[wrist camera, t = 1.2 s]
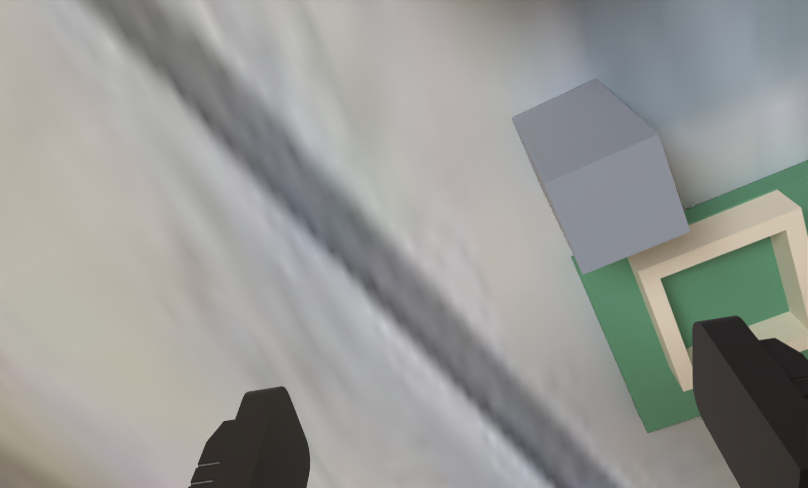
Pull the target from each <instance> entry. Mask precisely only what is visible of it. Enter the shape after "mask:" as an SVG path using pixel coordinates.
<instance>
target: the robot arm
mask: <svg viewBox="0 0 808 488" xmlns="http://www.w3.org/2000/svg"><path fill="white" fill-rule="evenodd" d="M692 377H693V392H694V397H695V401H696V405H697V408H698V410H699V413H700V415H701V417H702V419H703V421H704V423H705V425H706V426H707V428H708V430H709V432H710V434H711V435H712V437H713V439H714V441H715V443H716V444H717V446H718V448H719V450H720V452H721V453H722V455H723V457H724V459H725V461H726V462H727V464H728V466H729V468H730V470H731V471H732V473H733V475H734V477H735V478H736V480H737V482H738V484H739V486H740V487H741V488H808V360H807V358H806V357H805V356H804V355H803V354H802V353H800V352H799V351H797V350H795V349H794V348H792V347H790V346H788V345H787V344H785V343H783V342H782V341H780V340H778V339H776V338H770V339H763V340H758V338H757V337H756V336H755V335H754V333H753V332H752V331H751V330H750V328H749V327H748V326H747V325H746V323H745V322H744V321H743V320H742V319H741V318H740V317H739V316H737V315H735V316H729V317H722V318H716V319H710V320H703V321H697V322H695V323H694V324H693V328H692ZM309 471H310V454H309V447H308V443H307V440H306V437H305V434H304V432H303V429H302V427H301V424H300V422H299V419H298V416H297V414H296V411H295V409H294V406H293V404H292V401H291V398H290V396H289V394H288V391H287V390H286V389H285V388H284V387H282V386H281V387H275V388H269V389H262V390H256V391H250V392H247V393H245V395H244V397H243V399H242V402H241V405H240V408H239V410H238V413H237V416H236V419H235V420H229V421H224V422H223V423H222V424H221V425H220V427H219V428H218V429H217V430H216V431H215V432H214V434H213V435H212V436H211V437H210V438H209V440H208V441H207V442H206V445H205V447H204V450H203V452H202V455H201V457H200V460H199V462H198V468H196V470H195V472H194V475H193V477H192V480H191V486H190V487H188V488H306V487H307V482H308V477H309Z"/></svg>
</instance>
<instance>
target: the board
mask: <svg viewBox="0 0 808 488" xmlns="http://www.w3.org/2000/svg"><path fill="white" fill-rule="evenodd" d="M684 213H685V216H686V219H687V223H688V226H689V229H690V232H689V233H686V234H684V235H681V236H679V237H676V238H674V239H671V240H669V241H666V242H664V243H661V244H659V245H656V246H654V247H651V248H649V249H646V250H644V251H641V252H639V253H636V254H634V255H631V256H628V257H626V258H623V259H621V260H618V261H616V262H613V263H611V264H608V265H606V266H603V267H601V268H598V269H596V270H593V271H591V272H588V273H586V274H582V272H581V270H580V268H579V266H578V264H577V262H576V259H575V257H574V256H572V260H573V262H574V264H575V267H576V269H577V271H578V274H579V276H580V278H581V281H582V283H583V285H584V288H585V290H586V292H587V295H588V297H589V299H590V302H591V304H592V306H593V309H594V311H595V313H596V316H597V318H598V320H599V323H600V325H601V327H602V330H603V332H604V334H605V336H606V339H607V341H608V343H609V346H610V348H611V350H612V353H613V355H614V357H615V360H616V362H617V364H618V367H619V369H620V371H621V374H622V376H623V378H624V381H625V383H626V385H627V388H628V390H629V392H630V395H631V397H632V399H633V402H634V404H635V406H636V409H637V411H638V413H639V416H640V418H641V420H642V422H643V425H644V427H645V429H646V431H647V433H650V432H653V431H656V430H659V429H662V428H665V427H668V426H671V425H674V424H677V423H680V422H683V421H686V420H689V419H692V418H695V417H698V416H701V415H700V413H699V410H698V408H697V405H696V401H695V397H694V392H693V377H692V328H693V324H694V323H695V322H697V321H703V320H710V319H716V318H722V317H729V316H735V315H737V316H739V317H740V318H741V319H742V320H743V321H744V322H745V323H746V325H747V326H748V327H749V328H750V330H751V331H752V332H753V333H754V335H755V336H756V337H757V338H758V340H763V339H770V338H776V339H778V340H780V341H782V342H783V343H785V344H787V345H788V346H790V347H792V348H794V349H795V350H797V351H799V352H800V353H802V354H803V355H804V356H805V357H806V358H807V360H808V160H807V161H805V162H802V163H800V164H797V165H795V166H793V167H790V168H788V169H785V170H783V171H780V172H778V173H775V174H773V175H770V176H768V177H766V178H763V179H761V180H758V181H756V182H753V183H751V184H748V185H746V186H743V187H741V188H739V189H736V190H734V191H731V192H729V193H726V194H724V195H721V196H719V197H716V198H714V199H712V200H709V201H707V202H704V203H702V204H699V205H697V206H694V207H692V208H689V209H687V210H685V211H684Z"/></svg>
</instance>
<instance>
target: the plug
mask: <svg viewBox="0 0 808 488" xmlns="http://www.w3.org/2000/svg"><path fill="white" fill-rule="evenodd" d="M512 120H513V122H514V125H515V127H516V129H517V132H518V134H519V136H520V139H521V141H522V143H523V146H524V148H525V150H526V153H527V155H528V157H529V160H530V162H531V164H532V167H533V169H534V171H535V174H536V176H537V178H538V181H539V183H540V185H541V188H542V190H543V192H544V194H545V196H546V198H547V201H548V203H549V205H550V207H551V209H552V211H553V213H554V215H555V217H556V219H557V222H558V224H559V226H560V228H561V230H562V232H563V234H564V236H565V238H566V240H567V243H568V245H569V247H570V249H571V251H572V253H573V255H574V257H575V259H576V262H577V264H578V266H579V268H580V270H581V272H582V274H586V273H588V272H591V271H593V270H596V269H598V268H601V267H603V266H606V265H608V264H611V263H613V262H616V261H618V260H621V259H623V258H626V257H628V256H631V255H634V254H636V253H639V252H641V251H644V250H646V249H649V248H651V247H654V246H656V245H659V244H661V243H664V242H666V241H669V240H671V239H674V238H676V237H679V236H681V235H684V234H686V233H689V232H690V229H689V226H688V223H687V219H686V216H685V213H684V210H683V207H682V204H681V201H680V198H679V195H678V192H677V189H676V186H675V183H674V180H673V176H672V173H671V170H670V167H669V164H668V161H667V158H666V155H665V152H664V149H663V146H662V143H661V140H660V137H659V134H658V133H657V132H656V131H655V130H654V129H652V128H651V127H650V126H649V125H648V124H647V123H646V122H645V121H643V120H642V119H641V118H640V117H639V116H638V115H637V114H635V113H634V112H633V111H632V110H631V109H630V108H629V107H628V106H626V105H625V104H624V103H623V102H622V101H621V100H620V99H618V98H617V97H616V96H615V95H614V94H613V93H612V92H611V91H609V90H608V89H607V88H606V87H605V86H604V85H603V84H601V83H600V82H599V81H598V80H597V79H594V80H592V81H590V82H588V83H586V84H583V85H581V86H579V87H577V88H575V89H573V90H571V91H568V92H566V93H564V94H562V95H560V96H558V97H556V98H553V99H551V100H549V101H547V102H545V103H543V104H541V105H538V106H536V107H534V108H532V109H530V110H528V111H526V112H523V113H521V114H519V115H517V116H515V117H513V118H512Z"/></svg>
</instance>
